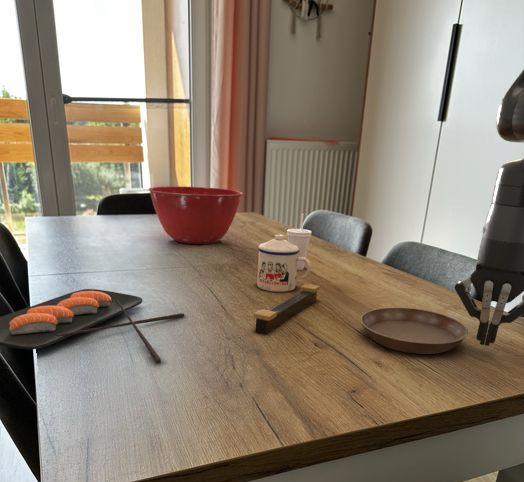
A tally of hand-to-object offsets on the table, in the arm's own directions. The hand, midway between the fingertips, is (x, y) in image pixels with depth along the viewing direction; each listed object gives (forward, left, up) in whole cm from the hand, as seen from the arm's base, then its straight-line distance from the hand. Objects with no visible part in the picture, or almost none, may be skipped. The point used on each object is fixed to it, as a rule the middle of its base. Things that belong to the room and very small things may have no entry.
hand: (484, 343), depth 83 cm
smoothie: (+49, -37, -2) cm, 61 cm away
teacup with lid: (+44, -17, -2) cm, 47 cm away
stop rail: (+35, 0, -2) cm, 35 cm away
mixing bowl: (+90, -52, -2) cm, 104 cm away
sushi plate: (+57, +26, -2) cm, 62 cm away
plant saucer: (+12, 0, -2) cm, 12 cm away
